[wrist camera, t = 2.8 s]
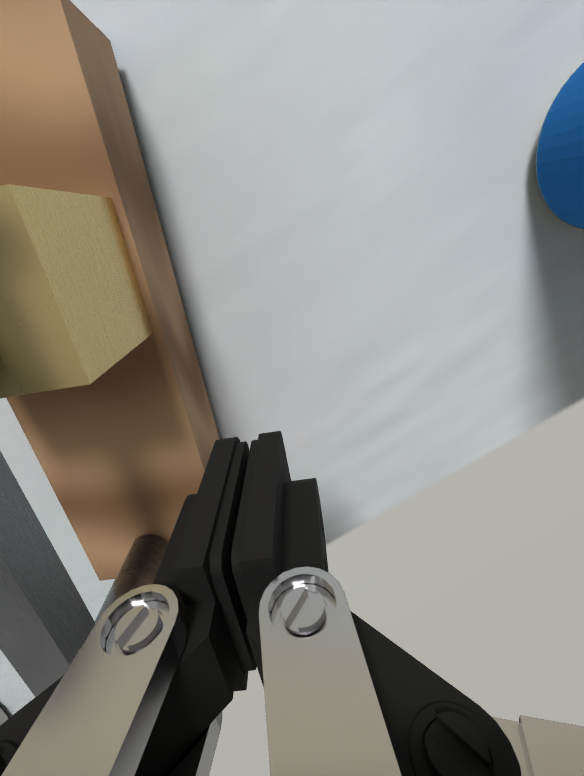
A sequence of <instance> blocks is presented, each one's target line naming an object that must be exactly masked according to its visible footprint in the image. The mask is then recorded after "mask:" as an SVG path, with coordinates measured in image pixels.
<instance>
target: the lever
mask: <svg viewBox="0 0 584 776" xmlns="http://www.w3.org/2000/svg"><path fill="white" fill-rule="evenodd" d="M167 545H168V542H167V541H166V540H165V539H164V538H162V537H160V536H158V535H154V534H144V535H141V536H139V537H137V538H136V539H135V540H134V542H133V544H132V546H131V548H130V550H129V552H128V554H127V556H126V558H125V561H124V563H123V565H122V567H121V569H120V571H119V573H118V575H117V577H116V579H115V581H114V583H113V585H112V587H111V589H110V591H109V593H108V595H107V597H106V599H105V601H104V604H103V606H102V608H101V610H100V612H99V614H98V616H97V618H96V620H95V622H94V620H93V618H92V616H91V614H90V613H89V611H88V609H87V607H86V605H85V604H84V602H83V600H82V598H81V596H80V595H79V593H78V591H77V589H76V587H75V585H74V584H73V582H72V580H71V578H70V576H69V575H68V573H67V571H66V569H65V567H64V566H63V564H62V562H61V560H60V558H59V556H58V555H57V553H56V551H55V549H54V547H53V546H52V544H51V542H50V540H49V538H48V537H47V535H46V533H45V531H44V529H43V527H42V526H41V524H40V522H39V520H38V518H37V517H36V515H35V513H34V511H33V509H32V508H31V506H30V504H29V502H28V500H27V499H26V497H25V495H24V493H23V491H22V489H21V488H20V486H19V484H18V482H17V480H16V479H15V477H14V475H13V473H12V471H11V470H10V468H9V466H8V464H7V462H6V460H5V459H4V457H3V455H2V453H1V451H0V649H1V650H2V652H3V653H4V655H5V656H6V657H7V659H8V660H9V661H10V663H11V664H12V666H13V667H14V668H15V670H16V671H17V672H18V674H19V675H20V676H21V678H22V679H23V681H24V682H25V683H26V685H27V686H28V687H29V689H30V690H31V691H32V693H33V694H34V696H35V697H37V696H38V695H39V694H40V693H42V692H43V691H44V690H45V689H47V688H48V687H49V686H50V685H52V684H53V683H54V682H55V681H57V680H58V679H59V678H61V677H62V676H63V675H64V674H65V673H66V671H67V669H68V668H69V666H70V665H71V663H72V661H73V660H74V658H75V657H76V655H77V653H78V652H79V650H80V649H81V647H82V645H83V644H84V642H85V640H86V639H87V637H88V636H89V634H90V632H91V631H92V629H93V628H94V626H95V624H96V623H97V621H98V620H99V618H100V617H101V616H102V614H103V613H104V612H105V611H106V609H107V608H108V607H109V606H110V605H111V604H112V603H114V602H115V601H116V600H117V599H118V598H119V597H121V596H123V595H124V594H126V593H127V592H129V591H131V590H133V589H136V588H138V587H141V586H144V585H151V584H153V582H154V579H155V577H156V574H157V571H158V569H159V566H160V564H161V561H162V558H163V556H164V553H165V550H166V548H167Z"/></svg>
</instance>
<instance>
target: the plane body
mask: <svg viewBox="0 0 584 776" xmlns="http://www.w3.org/2000/svg"><path fill="white" fill-rule="evenodd" d="M7 184H10V185H18V186H26V187H33V188H41V189H48V190H56V191H64V192H71V193H79V194H87V195H94V196H102V197H109V198H112V201H113V204H114V207H115V210H116V214H117V217H118V220H119V223H120V226H121V230H122V233H123V236H124V239H125V242H126V245H127V249H128V252H129V255H130V258H131V261H132V265H133V268H134V271H135V274H136V277H137V280H138V284H139V287H140V290H141V293H142V296H143V299H144V303H145V306H146V309H147V312H148V315H149V319H150V322H151V325H152V328H153V331H154V333H152V334H151V335H150V336H149V337H147V338H146V339H145V340H144V341H143V342H141V343H140V344H139V345H138V346H136V347H135V348H134V349H133V350H131V351H130V352H129V353H128V354H127V355H125V356H124V357H123V358H122V359H120V360H119V361H118V362H117V363H116V364H114V365H113V366H112V367H111V368H109V369H108V370H107V371H106V372H104V373H103V374H102V375H101V376H100V377H98V378H97V379H96V380H95V381H93V382H92V383H91V384H89V385H83V386H76V387H70V388H63V389H57V390H50V391H44V392H37V393H31V394H24V395H18V396H11V397H6V398H7V400H8V402H9V404H10V406H11V408H12V409H13V411H14V413H15V415H16V417H17V419H18V421H19V423H20V425H21V427H22V429H23V431H24V433H25V435H26V437H27V439H28V441H29V443H30V445H31V447H32V449H33V451H34V453H35V455H36V456H37V458H38V460H39V462H40V464H41V466H42V468H43V470H44V472H45V474H46V476H47V478H48V480H49V482H50V484H51V486H52V488H53V490H54V492H55V494H56V496H57V498H58V500H59V502H60V504H61V505H62V507H63V509H64V511H65V513H66V515H67V517H68V519H69V521H70V523H71V525H72V527H73V529H74V531H75V533H76V535H77V537H78V539H79V541H80V543H81V545H82V547H83V549H84V551H85V552H86V554H87V556H88V558H89V560H90V562H91V564H92V566H93V568H94V570H95V572H96V574H97V576H98V578H99V580H109V579H116V577H117V575H118V573H119V571H120V569H121V567H122V565H123V563H124V561H125V558H126V556H127V554H128V552H129V550H130V548H131V546H132V544H133V542H134V540H135V539H136V538H137V537H139V536H141V535H144V534H154V535H158V536H160V537H162V538H164V539H165V540H166V541H167V542H168V543H169V540H170V537H171V535H172V532H173V530H174V527H175V524H176V522H177V519H178V516H179V514H180V511H181V509H182V506H183V503H184V501H185V499H186V497H187V496H188V495H190V494H196V493H197V492H198V489H199V486H200V483H201V480H202V478H203V475H204V472H205V469H206V466H207V463H208V460H209V457H210V454H211V452H212V449H213V446H214V443H215V441H216V440H219V435H218V432H217V428H216V424H215V421H214V417H213V413H212V410H211V406H210V402H209V399H208V395H207V392H206V388H205V384H204V381H203V377H202V373H201V370H200V366H199V362H198V359H197V355H196V352H195V348H194V344H193V341H192V337H191V333H190V330H189V326H188V322H187V319H186V315H185V312H184V308H183V304H182V301H181V297H180V293H179V290H178V286H177V282H176V279H175V275H174V272H173V268H172V264H171V261H170V257H169V253H168V250H167V246H166V242H165V239H164V235H163V232H162V228H161V224H160V221H159V217H158V213H157V210H156V206H155V202H154V199H153V195H152V192H151V188H150V184H149V181H148V177H147V173H146V170H145V166H144V162H143V159H142V155H141V152H140V148H139V144H138V141H137V137H136V133H135V130H134V126H133V122H132V119H131V115H130V112H129V108H128V104H127V101H126V97H125V93H124V90H123V86H122V82H121V79H120V75H119V72H118V68H117V64H116V61H115V57H114V53H113V50H112V46H111V42H110V40H109V39H108V38H107V37H106V36H105V35H104V34H103V33H102V32H101V31H100V30H99V29H98V28H97V27H96V26H95V25H94V24H93V23H92V22H91V21H90V20H89V19H88V18H87V17H86V16H85V15H84V14H83V13H82V12H81V11H80V10H79V9H78V8H77V7H76V6H75V5H74V4H73V3H72V2H71V1H70V0H0V186H2V185H7Z"/></svg>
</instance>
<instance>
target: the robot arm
mask: <svg viewBox="0 0 584 776" xmlns="http://www.w3.org/2000/svg"><path fill="white" fill-rule="evenodd" d="M256 667H258V671H259V674H260V677H261V680H262V683H263V687H264V693H265V707H266V721H267V735H268V748H269V763H270V776H584V727H583V726H577V725H572V724H566V723H561V722H555V721H550V720H544V719H538V718H532V717H527V716H522V715H520V718H519V722H516V721H511V720H506V719H500V718H495V717H491V716H490V715H489V714H488V713H487V712H486V711H485V710H483V709H482V708H481V707H480V706H479V705H477V704H476V703H475V702H474V701H472V700H471V699H469V698H468V697H467V696H465V695H464V694H463V693H461V692H460V691H459V690H457V689H456V688H455V687H453V686H452V685H450V684H449V683H448V682H446V681H445V680H444V679H442V678H441V677H440V676H438V675H437V674H435V673H434V672H433V671H431V670H430V669H429V668H427V667H426V666H425V665H423V664H422V663H421V662H419V661H418V660H416V659H415V658H414V657H412V656H411V655H410V654H408V653H407V652H405V651H404V650H403V649H401V648H400V647H399V646H397V645H396V644H394V643H393V642H392V641H390V640H389V639H388V638H386V637H385V636H384V635H382V634H381V633H380V632H378V631H377V630H376V629H374V628H373V627H371V626H370V625H369V624H367V623H366V622H365V621H363V620H362V619H361V618H359V617H358V616H357V615H355V614H354V613H352V612H351V611H350V609H349V606H348V602H347V600H346V596H345V593H344V591H343V589H342V587H341V585H340V583H339V582H338V581H337V580H336V579H335V578H334V577H333V576H332V575H331V574H330V573H328V563H327V554H326V544H325V534H324V526H323V518H322V511H321V504H320V498H319V492H318V486H317V481H316V478H312V479H304V480H296V481H291V478H290V473H289V468H288V463H287V458H286V453H285V448H284V443H283V438H282V434H281V431H277V432H270V433H262V434H259V437H258V440H252V442H251V447H250V452H249V447H248V444H247V442H246V441H245V442H240V440H239V438H238V437H234V438H226V439H219V440H216V441H215V443H214V446H213V449H212V452H211V454H210V457H209V460H208V463H207V466H206V469H205V472H204V475H203V478H202V480H201V483H200V486H199V489H198V492H197V493H196V494H190V495H188V496H187V497H186V499H185V501H184V503H183V506H182V509H181V511H180V514H179V516H178V519H177V522H176V524H175V527H174V530H173V532H172V535H171V537H170V540H169V543H168V545H167V548H166V550H165V553H164V556H163V558H162V561H161V564H160V566H159V569H158V571H157V574H156V577H155V579H154V582H153V584H151V585H144V586H141V587H138V588H136V589H133V590H131V591H129V592H127V593H126V594H124V595H123V596H121V597H119V598H118V599H117V600H116V601H115V602H114V603H112V604H111V605H110V606H109V607H108V608H107V609H106V611H105V612H104V613H103V614H102V616H101V617H100V618H99V620H98V621H97V623H96V624H95V626H94V628H93V629H92V631H91V632H90V634H89V636H88V637H87V639H86V640H85V642H84V644H83V645H82V647H81V649H80V650H79V652H78V653H77V655H76V657H75V658H74V660H73V661H72V663H71V665H70V666H69V668H68V669H67V671H66V673H65V674H64V675H63V676H62V677H61V678H59V679H58V680H57V681H55V682H54V683H53V684H52V685H50V686H49V687H48V688H47V689H45V690H44V691H43V692H42V693H40V694H39V695H38V696H37V697H35V698H34V699H33V700H32V701H30V702H29V703H28V704H27V705H25V706H24V707H23V708H22V709H20V710H19V711H18V712H17V713H15V714H14V715H13V716H11V717H10V718H9V719H8V717H7V715H6V714H5V712H4V711H3V710H2V709H1V707H0V776H209V773H210V769H211V765H212V761H213V757H214V754H215V749H216V746H217V742H218V738H219V734H220V730H221V723H222V710H223V709H224V708H225V707H226V706H227V705H228V704H229V703H230V702H231V701H232V699H233V692H234V691H241V690H246V687H247V679H248V671H251V670H256Z"/></svg>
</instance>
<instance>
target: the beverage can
mask: <svg viewBox="0 0 584 776" xmlns="http://www.w3.org/2000/svg"><path fill="white" fill-rule="evenodd" d="M536 174H537V180H538V185H539V188H540V191H541V194H542V197H543V198H544V200H545V202H546V204H547V205H548V207H549V208H550V209H551V210H552V212H553V213H554V214H555V215H556V216H558V217H559V218H560V219H561V220H563V221H565V222H566V223H568V224H570V225H573V226H575V227H578V228H582V229H584V63H583V64H582V65H581V66H580V67H579V68H578V69H577V70H576V71H575V72H574V73H573V74H572V75H571V76H570V78H569V79H568V80H567V81H566V83H565V84H564V85H563V87H562V88H561V89H560V91H559V93H558V94H557V96H556V97H555V99H554V101H553V103H552V105H551V107H550V109H549V111H548V113H547V115H546V117H545V120H544V123H543V125H542V128H541V132H540V136H539V139H538V145H537V152H536Z"/></svg>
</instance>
